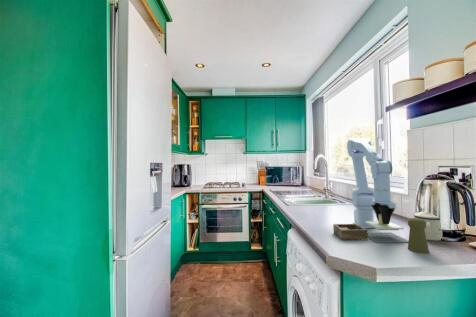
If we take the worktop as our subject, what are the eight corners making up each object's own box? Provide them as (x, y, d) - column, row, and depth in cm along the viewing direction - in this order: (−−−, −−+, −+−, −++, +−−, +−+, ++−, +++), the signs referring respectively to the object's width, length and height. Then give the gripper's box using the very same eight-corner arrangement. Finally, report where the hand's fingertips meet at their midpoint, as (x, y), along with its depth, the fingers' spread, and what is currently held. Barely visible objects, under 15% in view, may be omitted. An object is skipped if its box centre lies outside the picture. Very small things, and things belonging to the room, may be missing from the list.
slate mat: (360, 233, 104) (360, 232, 104) (391, 233, 103) (390, 232, 103) (376, 242, 91) (376, 242, 91) (411, 242, 90) (411, 242, 90)
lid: (365, 224, 102) (364, 212, 102) (388, 224, 101) (388, 212, 102) (377, 230, 92) (376, 217, 92) (403, 231, 92) (403, 217, 92)
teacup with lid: (415, 233, 102) (413, 206, 103) (442, 236, 97) (441, 208, 97) (414, 240, 93) (413, 210, 93) (445, 244, 87) (443, 213, 88)
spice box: (333, 233, 105) (333, 224, 105) (356, 233, 104) (356, 223, 104) (342, 240, 95) (341, 230, 95) (367, 240, 94) (367, 230, 94)
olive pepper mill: (433, 253, 79) (431, 220, 79) (413, 252, 80) (411, 220, 81) (422, 247, 85) (421, 216, 85) (404, 246, 86) (402, 216, 86)
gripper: (363, 188, 105) (365, 218, 104) (381, 191, 90) (383, 227, 90) (380, 188, 104) (381, 218, 104) (400, 191, 90) (402, 227, 90)
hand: (383, 222), depth 97 cm, fingers closed on lid, 3 cm apart
